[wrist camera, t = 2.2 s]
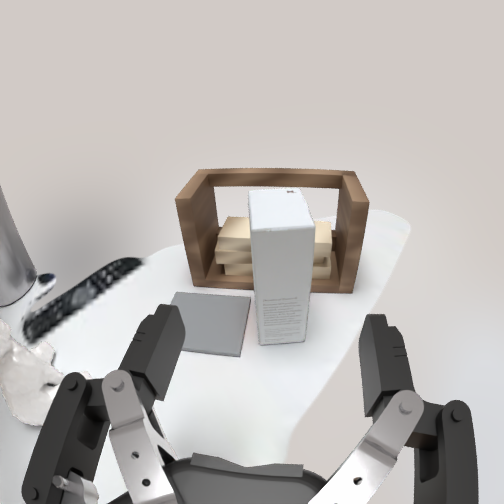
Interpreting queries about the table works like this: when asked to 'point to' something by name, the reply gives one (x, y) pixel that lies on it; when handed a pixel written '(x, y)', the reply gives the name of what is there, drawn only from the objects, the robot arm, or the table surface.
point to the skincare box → (281, 263)
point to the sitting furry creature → (28, 378)
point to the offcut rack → (203, 197)
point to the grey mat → (213, 322)
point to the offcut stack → (240, 257)
